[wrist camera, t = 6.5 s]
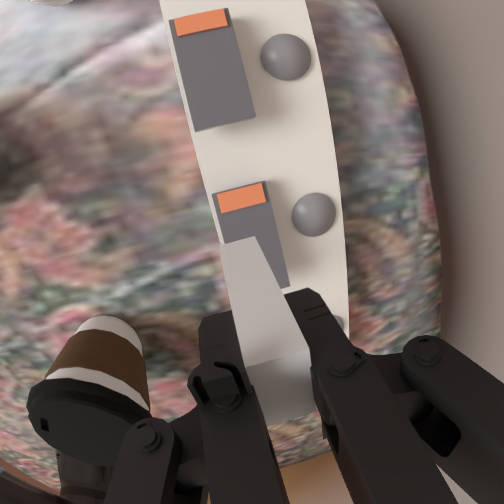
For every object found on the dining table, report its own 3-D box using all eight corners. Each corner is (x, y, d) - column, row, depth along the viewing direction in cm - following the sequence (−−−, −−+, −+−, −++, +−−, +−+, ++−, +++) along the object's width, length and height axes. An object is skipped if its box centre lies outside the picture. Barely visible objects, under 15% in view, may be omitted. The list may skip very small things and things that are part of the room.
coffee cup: (57, 357, 29) (29, 446, 18) (66, 277, 25) (16, 373, 14) (149, 385, 32) (145, 478, 22) (176, 314, 29) (176, 422, 18)
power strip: (337, 384, 38) (349, 408, 34) (270, 405, 37) (277, 431, 33) (282, -7, 18) (299, -26, 14) (163, 13, 17) (158, -5, 14)
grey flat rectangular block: (253, 118, 17) (256, 116, 16) (195, 132, 17) (194, 131, 16) (226, 15, 15) (228, 6, 14) (170, 27, 15) (168, 19, 13)
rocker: (286, 281, 22) (291, 287, 21) (238, 294, 22) (240, 301, 20) (262, 180, 21) (265, 180, 19) (211, 194, 20) (211, 194, 19)
